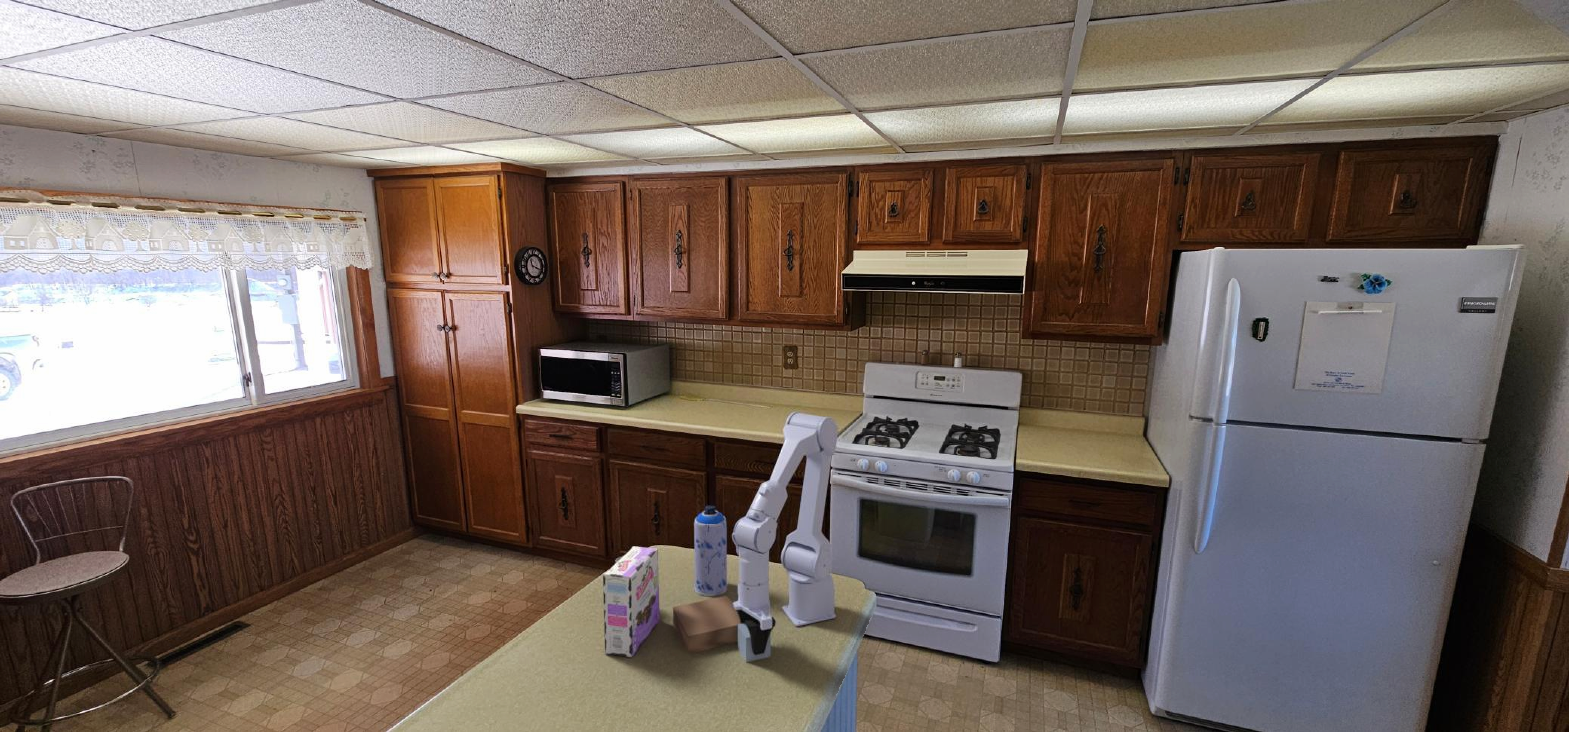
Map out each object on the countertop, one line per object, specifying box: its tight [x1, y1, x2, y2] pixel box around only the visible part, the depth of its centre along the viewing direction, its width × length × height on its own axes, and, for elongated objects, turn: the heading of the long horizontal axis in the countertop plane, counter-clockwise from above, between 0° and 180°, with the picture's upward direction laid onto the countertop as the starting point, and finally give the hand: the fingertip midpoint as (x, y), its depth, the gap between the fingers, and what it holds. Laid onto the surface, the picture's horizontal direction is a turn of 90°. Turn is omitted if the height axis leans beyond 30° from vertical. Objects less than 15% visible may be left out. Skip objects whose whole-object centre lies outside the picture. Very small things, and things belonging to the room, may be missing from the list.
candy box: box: [602, 546, 660, 658], centre depth 124 cm, size 14×6×16 cm, turn 168°
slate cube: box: [737, 623, 772, 663], centre depth 120 cm, size 5×5×5 cm
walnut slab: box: [672, 595, 741, 655], centre depth 127 cm, size 12×12×4 cm
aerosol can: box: [693, 504, 729, 597], centre depth 144 cm, size 8×8×20 cm
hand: (754, 645), depth 120 cm, fingers closed on slate cube, 5 cm apart
